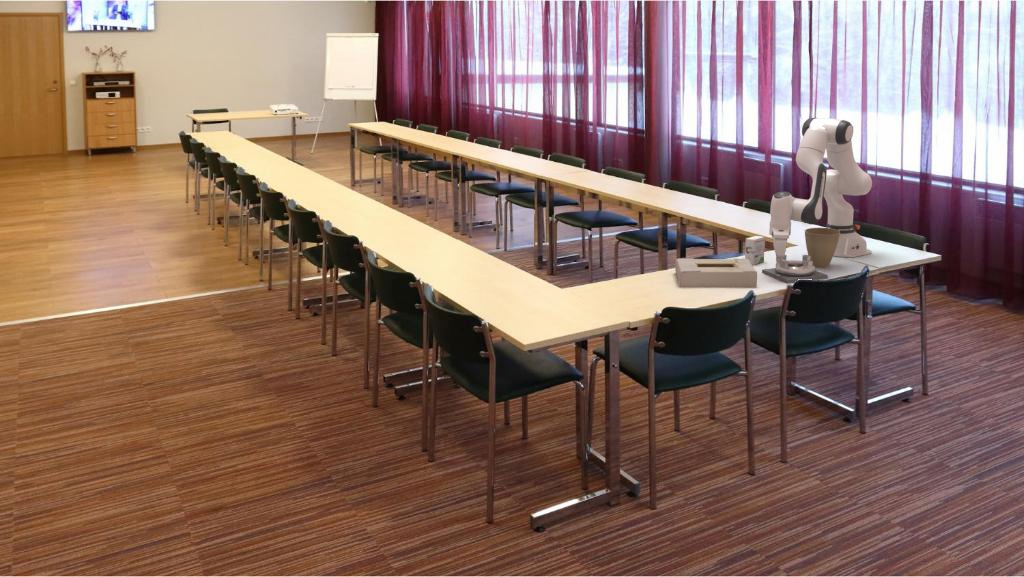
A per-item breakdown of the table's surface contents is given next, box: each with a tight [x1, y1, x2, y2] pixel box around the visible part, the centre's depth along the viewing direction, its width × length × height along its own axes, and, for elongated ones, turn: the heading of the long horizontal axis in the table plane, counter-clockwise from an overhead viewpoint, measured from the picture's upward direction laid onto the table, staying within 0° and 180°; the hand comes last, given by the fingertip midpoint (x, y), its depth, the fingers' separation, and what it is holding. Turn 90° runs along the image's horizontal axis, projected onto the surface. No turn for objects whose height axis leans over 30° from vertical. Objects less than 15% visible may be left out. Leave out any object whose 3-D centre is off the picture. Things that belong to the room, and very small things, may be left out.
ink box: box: [744, 235, 766, 266], centre depth 432 cm, size 8×5×12 cm, turn 131°
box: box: [674, 257, 758, 288], centre depth 406 cm, size 23×8×32 cm
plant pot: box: [804, 227, 840, 269], centre depth 423 cm, size 15×15×16 cm
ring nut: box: [775, 254, 816, 276], centre depth 409 cm, size 16×16×6 cm
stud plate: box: [761, 267, 829, 284], centre depth 410 cm, size 20×19×2 cm
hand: (778, 262), depth 410 cm, fingers closed
